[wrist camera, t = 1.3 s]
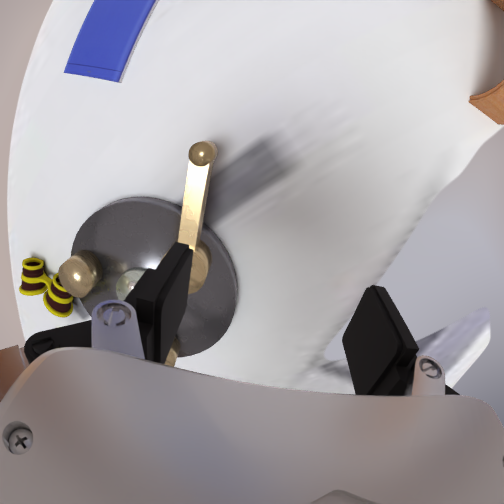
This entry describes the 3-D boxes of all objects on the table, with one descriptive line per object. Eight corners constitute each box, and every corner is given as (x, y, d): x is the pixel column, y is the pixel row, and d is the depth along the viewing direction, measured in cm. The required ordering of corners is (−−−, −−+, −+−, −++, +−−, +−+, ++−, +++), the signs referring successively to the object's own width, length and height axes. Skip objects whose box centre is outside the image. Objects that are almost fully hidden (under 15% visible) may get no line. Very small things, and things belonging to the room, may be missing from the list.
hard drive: (104, -22, 16) (62, 72, 21) (165, -20, 17) (116, 82, 22) (111, -17, 17) (70, 73, 23) (169, -15, 18) (123, 83, 24)
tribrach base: (221, 362, 38) (216, 392, 33) (87, 323, 37) (70, 346, 32) (255, 219, 29) (252, 240, 24) (76, 183, 28) (48, 196, 23)
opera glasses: (83, 278, 34) (64, 291, 30) (78, 308, 36) (61, 324, 31) (35, 250, 33) (14, 260, 28) (32, 281, 34) (13, 292, 30)
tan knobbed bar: (208, 280, 29) (202, 298, 26) (168, 270, 29) (157, 287, 26) (234, 145, 23) (229, 148, 20) (185, 136, 23) (173, 138, 20)
